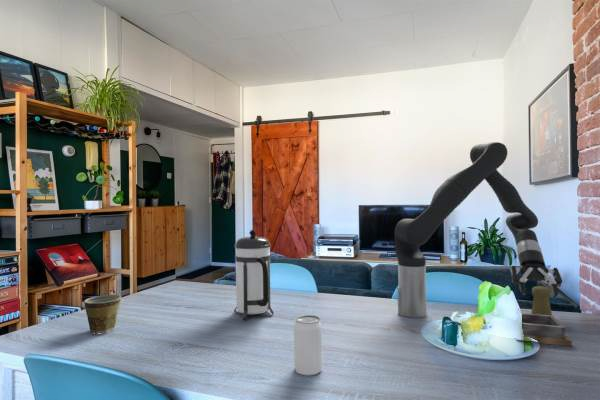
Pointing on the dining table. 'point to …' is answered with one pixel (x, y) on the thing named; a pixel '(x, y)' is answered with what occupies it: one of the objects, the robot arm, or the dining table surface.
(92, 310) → the ceramic cup
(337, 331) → the dining table surface
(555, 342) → the brown wooden tray
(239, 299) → the coffee press
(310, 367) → the can
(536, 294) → the cork
